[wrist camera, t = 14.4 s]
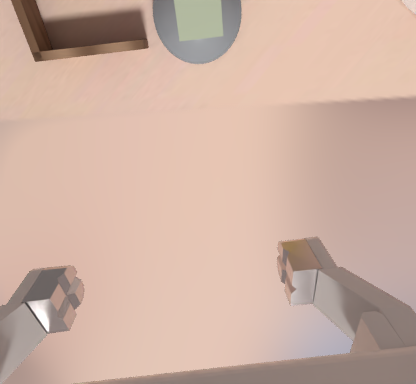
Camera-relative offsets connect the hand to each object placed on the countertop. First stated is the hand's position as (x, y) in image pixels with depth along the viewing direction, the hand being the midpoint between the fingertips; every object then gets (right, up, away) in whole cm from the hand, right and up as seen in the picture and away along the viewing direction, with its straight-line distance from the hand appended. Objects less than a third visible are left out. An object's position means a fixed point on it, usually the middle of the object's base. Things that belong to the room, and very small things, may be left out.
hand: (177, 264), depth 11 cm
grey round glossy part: (0, +26, +23) cm, 35 cm away
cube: (0, +25, +22) cm, 34 cm away
